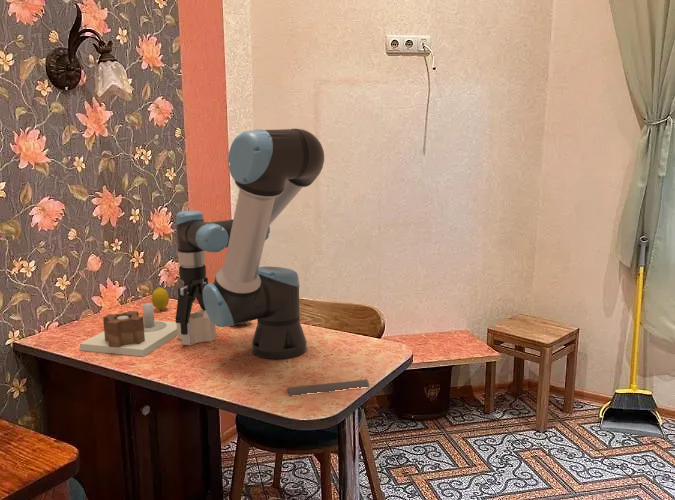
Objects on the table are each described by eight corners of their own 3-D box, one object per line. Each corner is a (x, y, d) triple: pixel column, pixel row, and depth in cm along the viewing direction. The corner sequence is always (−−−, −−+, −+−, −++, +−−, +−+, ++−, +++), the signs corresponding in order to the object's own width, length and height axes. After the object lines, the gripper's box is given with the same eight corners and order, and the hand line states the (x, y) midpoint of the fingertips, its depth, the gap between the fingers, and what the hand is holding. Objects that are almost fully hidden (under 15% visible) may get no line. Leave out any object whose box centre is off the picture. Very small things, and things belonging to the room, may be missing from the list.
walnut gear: (152, 335, 191) (150, 312, 189) (131, 348, 180) (129, 324, 179) (119, 333, 193) (117, 310, 192) (96, 345, 183) (94, 321, 182)
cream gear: (221, 333, 198) (220, 311, 197) (204, 346, 188) (203, 322, 186) (188, 331, 201) (187, 309, 200) (170, 343, 191) (169, 319, 189)
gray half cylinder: (286, 391, 158) (286, 384, 158) (365, 383, 162) (365, 376, 162) (289, 399, 154) (288, 391, 154) (370, 390, 158) (370, 383, 158)
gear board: (186, 329, 203) (184, 300, 201) (143, 356, 180) (141, 325, 178) (128, 324, 208) (126, 296, 206) (80, 350, 186) (77, 319, 184)
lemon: (149, 312, 221) (148, 289, 219) (156, 307, 226) (155, 284, 224) (165, 312, 220) (163, 289, 218) (172, 308, 225) (170, 285, 223)
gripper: (199, 255, 202) (203, 324, 207) (159, 273, 180) (164, 350, 184) (221, 256, 200) (225, 326, 205) (184, 275, 178) (188, 352, 182)
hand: (196, 337), depth 194 cm, fingers open, 11 cm apart
